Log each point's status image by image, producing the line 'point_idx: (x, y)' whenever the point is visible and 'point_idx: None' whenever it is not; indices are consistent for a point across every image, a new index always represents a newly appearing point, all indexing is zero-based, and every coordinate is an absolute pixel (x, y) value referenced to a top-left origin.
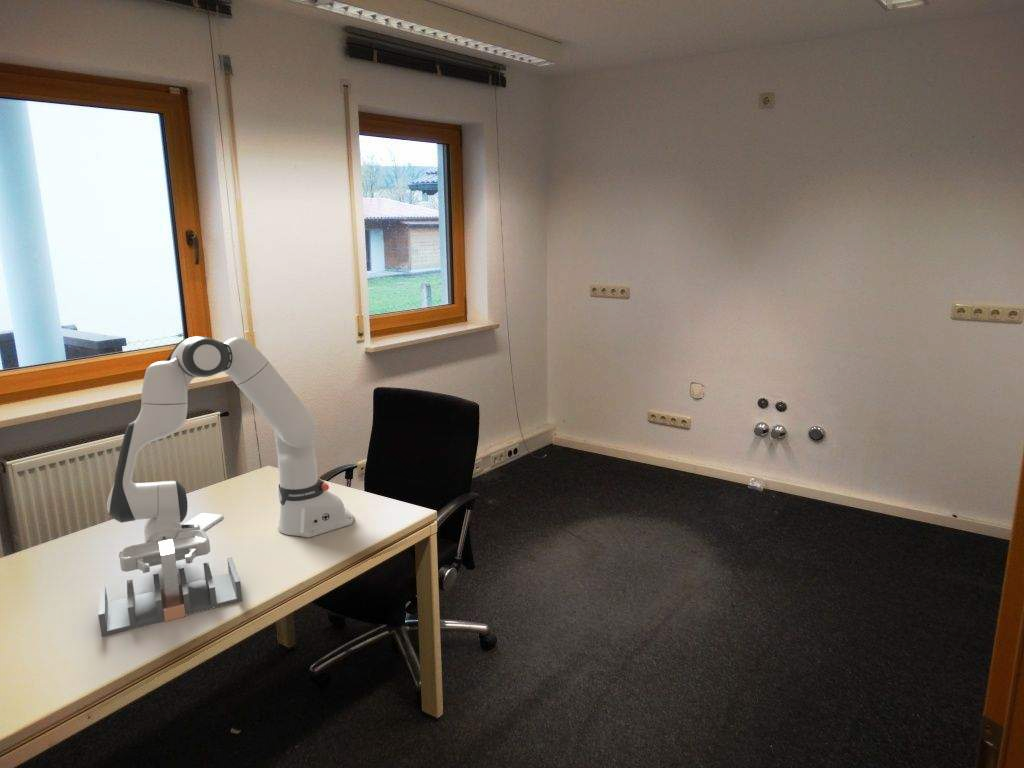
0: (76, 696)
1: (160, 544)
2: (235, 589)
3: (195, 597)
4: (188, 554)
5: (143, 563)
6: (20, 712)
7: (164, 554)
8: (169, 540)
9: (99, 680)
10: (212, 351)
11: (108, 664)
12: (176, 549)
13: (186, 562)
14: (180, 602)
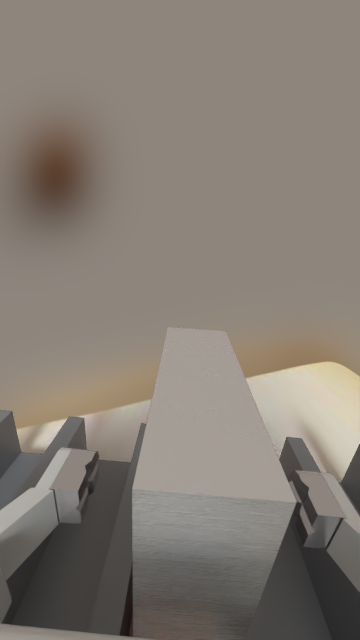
0: (293, 368)
1: (254, 425)
2: (10, 441)
3: (97, 544)
4: (59, 480)
5: (354, 522)
6: (345, 373)
7: (210, 331)
8: (169, 468)
9: (278, 377)
10: None
11: (280, 397)
12: (89, 634)
13: (97, 467)
14: None
